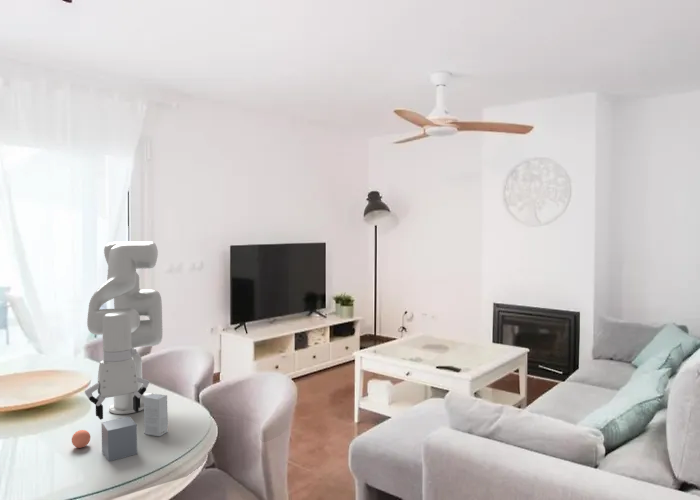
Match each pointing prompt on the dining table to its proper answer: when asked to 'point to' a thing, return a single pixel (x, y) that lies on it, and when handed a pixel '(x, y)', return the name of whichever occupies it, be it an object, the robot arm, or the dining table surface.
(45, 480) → the dining table surface
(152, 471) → the dining table surface
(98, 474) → the dining table surface
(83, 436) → the ball
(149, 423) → the skincare box
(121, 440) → the grey matte cube
